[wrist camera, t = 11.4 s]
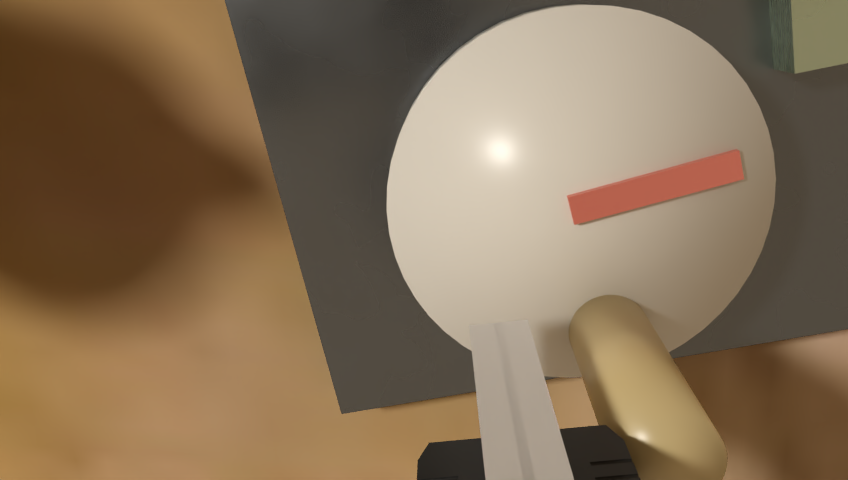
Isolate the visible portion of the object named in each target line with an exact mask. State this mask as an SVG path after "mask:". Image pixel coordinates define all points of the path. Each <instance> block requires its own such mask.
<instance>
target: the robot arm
mask: <svg viewBox="0 0 848 480" xmlns="http://www.w3.org/2000/svg"><path fill="white" fill-rule="evenodd" d="M469 329H470V339H471V348H472V358H473V367H474V377H475V386H476V395H477V405H478V414H479V424H480V433H481V438H477V439H467V440H456V441H445V442H434V443H429V444H428V446H427V447H426V449H425V450H424V452H423V453H422V455H421V456H420V458H419V459H418V470H417V480H641V479H640V478H639V476H638V472H637V470H636V467H635V465H634V463H633V462H632V458H631V456H630V453H629V451H628V449H627V446H626V444H625V442H624V440H623V439H622V438H621V437H620V436H619V435H617V434H616V433H615V432H614V431H613V430H611V429H610V428H609V427H608V426H607V425H599V426H588V427H577V428H566V429H559V426H558V422H557V419H556V416H555V412H554V409H553V405H552V402H551V398H550V395H549V391H548V388H547V385H546V381H545V378H544V374H543V371H542V367H541V364H540V361H539V357H538V354H537V350H536V347H535V343H534V340H533V337H532V333H531V330H530V326H529V323H528V319H527V320H517V321H507V322H497V323H487V324H477V325H469Z"/></svg>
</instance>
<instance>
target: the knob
mask: <svg viewBox="0 0 848 480" xmlns="http://www.w3.org/2000/svg"><path fill="white" fill-rule="evenodd" d="M775 185H776V174H775V162H774V152H773V148H772V143H771V139H770V135H769V130H768V127H767V125H766V122H765V120H764V117H763V114H762V112H761V109H760V107H759V105H758V103H757V101H756V99H755V98H754V96H753V94H752V92H751V91H750V89H749V87H748V85H747V84H746V82H745V81H744V80H743V79H742V77H741V76H740V75H739V74H738V72H737V71H736V70H735V68H734V67H733V66H732V65H731V63H729V62H728V61H727V60H726V59H725V58H724V57H723V56H722V55H721V54H720V53H719V52H718V51H717V50H716V49H715V48H713V47H712V46H711V45H710V44H708V43H707V42H705V41H704V40H703V39H701V38H700V37H698V36H697V35H695V34H694V33H692V32H691V31H689V30H687V29H685V28H683V27H681V26H679V25H677V24H675V23H673V22H671V21H669V20H667V19H665V18H662V17H659V16H655V15H652V14H649V13H646V12H643V11H640V10H634V9H629V8H623V7H617V6H607V5H583V4H571V5H561V6H551V7H546V8H541V9H537V10H533V11H529V12H525V13H522V14H519V15H517V16H514V17H511V18H509V19H506V20H504V21H501V22H499V23H497V24H495V25H494V26H492V27H490V28H488V29H486V30H484V31H482V32H481V33H479V34H477V35H476V36H475V37H473V38H472V39H470V40H469V41H468V42H466V43H465V44H464V45H462V46H461V47H459V48H458V49H457V50H456V51H455V52H454V53H453V54H452V55H451V56H450V57H448V58H447V59H446V60H445V61H444V62H443V63H442V64H441V65H440V66H439V67H438V69H437V70H436V71H435V72H434V74H433V75H432V76H431V77H430V78H429V80H428V81H427V82H426V83H425V85H424V86H423V88H422V90H421V91H420V93H419V94H418V96H417V98H416V99H415V101H414V102H413V104H412V106H411V108H410V110H409V113H408V115H407V117H406V119H405V122H404V124H403V126H402V129H401V131H400V134H399V137H398V140H397V143H396V146H395V150H394V153H393V156H392V160H391V164H390V170H389V177H388V183H387V219H388V228H389V235H390V239H391V243H392V247H393V251H394V255H395V258H396V260H397V263H398V265H399V268H400V270H401V273H402V275H403V277H404V279H405V281H406V283H407V285H408V286H409V288H410V290H411V292H412V293H413V295H414V297H415V298H416V300H417V301H418V302H419V304H420V305H421V306H422V308H423V309H424V310H425V311H426V313H427V314H428V315H429V317H430V318H431V319H432V320H433V321H434V322H435V323H436V324H437V325H438V326H439V327H440V328H441V329H442V330H443V331H444V332H446V333H447V334H448V335H449V336H451V337H452V338H453V339H455V340H456V341H457V342H459V343H460V344H461V345H462V346H464V347H466V348H467V349H469V350H471V351H472V348H471V339H470V329H469V325H477V324H487V323H497V322H507V321H517V320H527V319H528V323H529V326H530V330H531V333H532V337H533V340H534V343H535V347H536V350H537V354H538V357H539V361H540V364H541V367H542V371H543V374H544V376H547V377H566V378H576V377H582V378H583V381H584V384H585V387H586V390H587V393H588V396H589V398H590V401H591V404H592V407H593V410H594V413H595V416H596V419H597V422H598V424H599V425H607V426H608V427H609V428H610V429H611V430H613V431H614V432H615V433H616V434H617V435H619V436H620V437H621V438H622V439H623V440H624V442H625V444H626V446H627V449H628V451H629V453H630V456H631V458H632V462H633V463H634V465H635V467H636V470H637V472H638V476H639V478H640V479H641V480H722V479H723V477H724V475H725V472H726V468H727V460H728V457H727V450H726V447H725V444H724V442H723V440H722V438H721V437H720V435H719V433H718V432H717V430H716V428H715V427H714V425H713V424H712V422H711V420H710V419H709V417H708V415H707V414H706V412H705V411H704V409H703V407H702V406H701V404H700V402H699V401H698V399H697V398H696V396H695V394H694V393H693V391H692V389H691V388H690V386H689V385H688V383H687V381H686V380H685V378H684V376H683V375H682V373H681V371H680V370H679V368H678V367H677V365H676V363H675V362H674V360H673V358H672V357H671V355H670V354H669V352H670V351H672V350H674V349H676V348H677V347H679V346H681V345H683V344H684V343H686V342H687V341H688V340H690V339H691V338H692V337H694V336H695V335H696V334H698V333H699V332H701V331H702V330H703V329H704V328H705V327H707V326H708V325H709V324H710V323H711V322H712V321H713V320H714V319H715V318H716V317H717V316H718V315H719V314H720V313H722V311H723V310H724V309H725V308H726V307H727V305H728V304H729V303H730V302H731V301H732V300H733V298H734V297H735V296H736V295H737V294H738V292H739V291H740V289H741V287H742V286H743V284H744V283H745V281H746V280H747V278H748V277H749V275H750V274H751V272H752V270H753V268H754V266H755V264H756V262H757V260H758V258H759V255H760V253H761V251H762V249H763V246H764V243H765V240H766V237H767V234H768V231H769V228H770V223H771V218H772V213H773V208H774V202H775Z"/></svg>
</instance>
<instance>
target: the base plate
mask: <svg viewBox="0 0 848 480" xmlns="http://www.w3.org/2000/svg"><path fill="white" fill-rule="evenodd" d="M225 3H226V6H227V10H228V13H229V17H230V21H231V24H232V28H233V31H234V35H235V38H236V42H237V45H238V49H239V52H240V56H241V59H242V63H243V67H244V70H245V74H246V77H247V81H248V84H249V88H250V91H251V95H252V98H253V102H254V105H255V109H256V113H257V116H258V120H259V123H260V127H261V130H262V134H263V137H264V141H265V144H266V148H267V151H268V155H269V159H270V162H271V166H272V169H273V173H274V176H275V180H276V183H277V187H278V190H279V194H280V198H281V201H282V205H283V208H284V212H285V215H286V219H287V222H288V226H289V229H290V233H291V236H292V240H293V244H294V247H295V251H296V254H297V258H298V261H299V265H300V268H301V272H302V275H303V279H304V282H305V286H306V290H307V293H308V297H309V300H310V304H311V307H312V311H313V314H314V318H315V321H316V325H317V329H318V332H319V336H320V339H321V343H322V346H323V350H324V353H325V357H326V360H327V364H328V367H329V371H330V375H331V378H332V382H333V385H334V389H335V392H336V396H337V399H338V403H339V406H340V410H341V413H342V414H344V413H350V412H356V411H362V410H368V409H374V408H380V407H386V406H392V405H398V404H404V403H410V402H416V401H422V400H428V399H434V398H440V397H446V396H451V395H457V394H463V393H469V392H475V391H476V386H475V377H474V367H473V358H472V351H471V350H469V349H467V348H466V347H464V346H462V345H461V344H460V343H459V342H457V341H456V340H455V339H453V338H452V337H451V336H449V335H448V334H447V333H446V332H444V331H443V330H442V329H441V328H440V327H439V326H438V325H437V324H436V323H435V322H434V321H433V320H432V319H431V318H430V317H429V315H428V314H427V313H426V311H425V310H424V309H423V308H422V306H421V305H420V304H419V302H418V301H417V300H416V298H415V297H414V295H413V293H412V292H411V290H410V288H409V286H408V285H407V283H406V281H405V279H404V277H403V275H402V273H401V270H400V268H399V265H398V263H397V260H396V258H395V255H394V251H393V247H392V243H391V239H390V235H389V228H388V219H387V183H388V177H389V170H390V164H391V160H392V156H393V153H394V150H395V146H396V143H397V140H398V137H399V134H400V131H401V129H402V126H403V124H404V122H405V119H406V117H407V115H408V113H409V110H410V108H411V106H412V104H413V102H414V101H415V99H416V98H417V96H418V94H419V93H420V91H421V90H422V88H423V86H424V85H425V83H426V82H427V81H428V80H429V78H430V77H431V76H432V75H433V74H434V72H435V71H436V70H437V69H438V67H439V66H440V65H441V64H442V63H443V62H444V61H445V60H446V59H447V58H448V57H450V56H451V55H452V54H453V53H454V52H455V51H456V50H457V49H458V48H459V47H461V46H462V45H464V44H465V43H466V42H468V41H469V40H470V39H472V38H473V37H475V36H476V35H477V34H479V33H481V32H482V31H484V30H486V29H488V28H490V27H492V26H494V25H495V24H497V23H499V22H501V21H504V20H506V19H509V18H511V17H514V16H517V15H519V14H522V13H525V12H529V11H533V10H537V9H541V8H546V7H551V6H561V5H571V4H583V5H607V6H617V7H623V8H629V9H634V10H640V11H643V12H646V13H649V14H652V15H655V16H659V17H662V18H665V19H667V20H669V21H671V22H673V23H675V24H677V25H679V26H681V27H683V28H685V29H687V30H689V31H691V32H692V33H694V34H695V35H697V36H698V37H700V38H701V39H703V40H704V41H705V42H707V43H708V44H710V45H711V46H712V47H713V48H715V49H716V50H717V51H718V52H719V53H720V54H721V55H722V56H723V57H724V58H725V59H726V60H727V61H728V62H729V63H731V65H732V66H733V67H734V68H735V70H736V71H737V72H738V74H739V75H740V76H741V77H742V79H743V80H744V81H745V82H746V84H747V85H748V87H749V89H750V91H751V92H752V94H753V96H754V98H755V99H756V101H757V103H758V105H759V107H760V109H761V112H762V114H763V117H764V120H765V122H766V125H767V127H768V130H769V135H770V139H771V143H772V148H773V152H774V162H775V174H776V185H775V202H774V208H773V213H772V218H771V223H770V228H769V231H768V234H767V237H766V240H765V243H764V246H763V249H762V251H761V253H760V255H759V258H758V260H757V262H756V264H755V266H754V268H753V270H752V272H751V274H750V275H749V277H748V278H747V280H746V281H745V283H744V284H743V286H742V287H741V289H740V291H739V292H738V294H737V295H736V296H735V297H734V298H733V300H732V301H731V302H730V303H729V304H728V305H727V307H726V308H725V309H724V310H723V311H722V313H720V314H719V315H718V316H717V317H716V318H715V319H714V320H713V321H712V322H711V323H710V324H709V325H708V326H707V327H705V328H704V329H703V330H702V331H701V332H699V333H698V334H696V335H695V336H694V337H692V338H691V339H690V340H688V341H687V342H686V343H684V344H683V345H681V346H679V347H677V348H676V349H674V350H672V351H670V352H669V354H670V355H671V357H672V358H678V357H684V356H690V355H696V354H702V353H708V352H714V351H720V350H726V349H732V348H738V347H743V346H749V345H755V344H761V343H767V342H773V341H779V340H785V339H791V338H797V337H803V336H809V335H815V334H821V333H827V332H833V331H839V330H845V329H848V0H225ZM544 378H545V380H547V379H553V378H559V377H547V376H544Z"/></svg>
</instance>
